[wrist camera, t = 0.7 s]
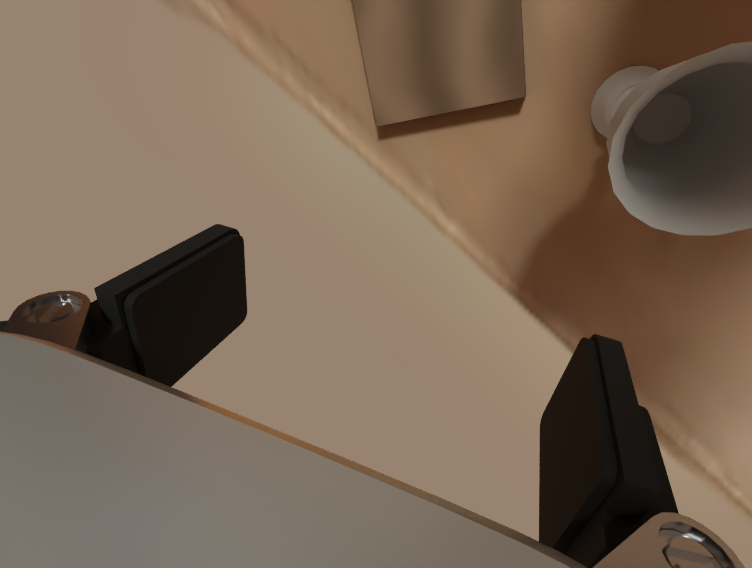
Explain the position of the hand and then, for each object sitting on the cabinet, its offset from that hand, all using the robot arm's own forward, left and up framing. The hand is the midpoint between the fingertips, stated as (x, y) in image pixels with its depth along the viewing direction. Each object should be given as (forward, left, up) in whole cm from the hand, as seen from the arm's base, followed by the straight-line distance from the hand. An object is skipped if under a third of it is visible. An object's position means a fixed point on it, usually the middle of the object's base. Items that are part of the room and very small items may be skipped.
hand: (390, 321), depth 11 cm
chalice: (-10, -1, -28) cm, 30 cm away
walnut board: (+3, -10, -28) cm, 30 cm away
